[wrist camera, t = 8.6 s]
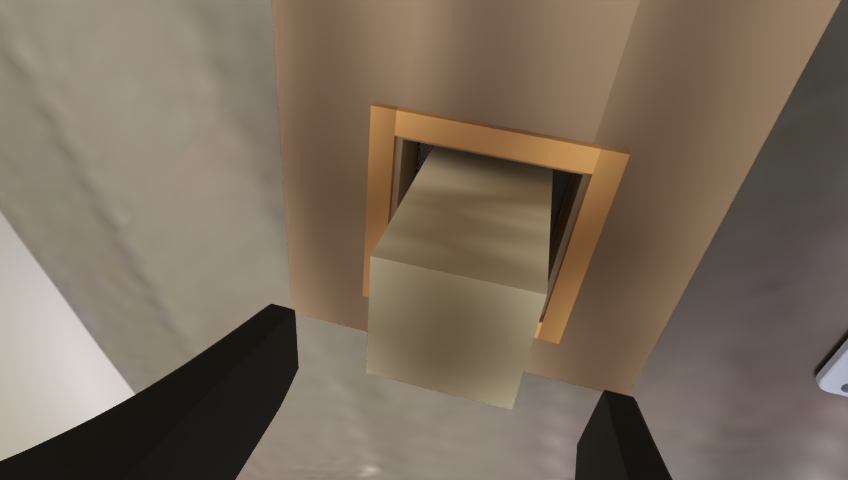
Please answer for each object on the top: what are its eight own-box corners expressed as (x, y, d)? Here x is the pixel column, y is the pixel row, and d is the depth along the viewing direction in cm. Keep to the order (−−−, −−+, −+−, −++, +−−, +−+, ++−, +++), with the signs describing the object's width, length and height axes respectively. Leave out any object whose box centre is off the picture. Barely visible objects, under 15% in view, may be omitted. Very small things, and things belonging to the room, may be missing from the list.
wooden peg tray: (1090, -616, 8) (1300, -828, 6) (620, 351, 21) (627, 404, 19) (292, -604, 10) (211, -761, 8) (316, 277, 23) (288, 317, 21)
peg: (553, 150, 17) (547, 294, 11) (529, 244, 19) (511, 410, 13) (442, 131, 18) (370, 255, 11) (431, 224, 20) (366, 373, 13)
